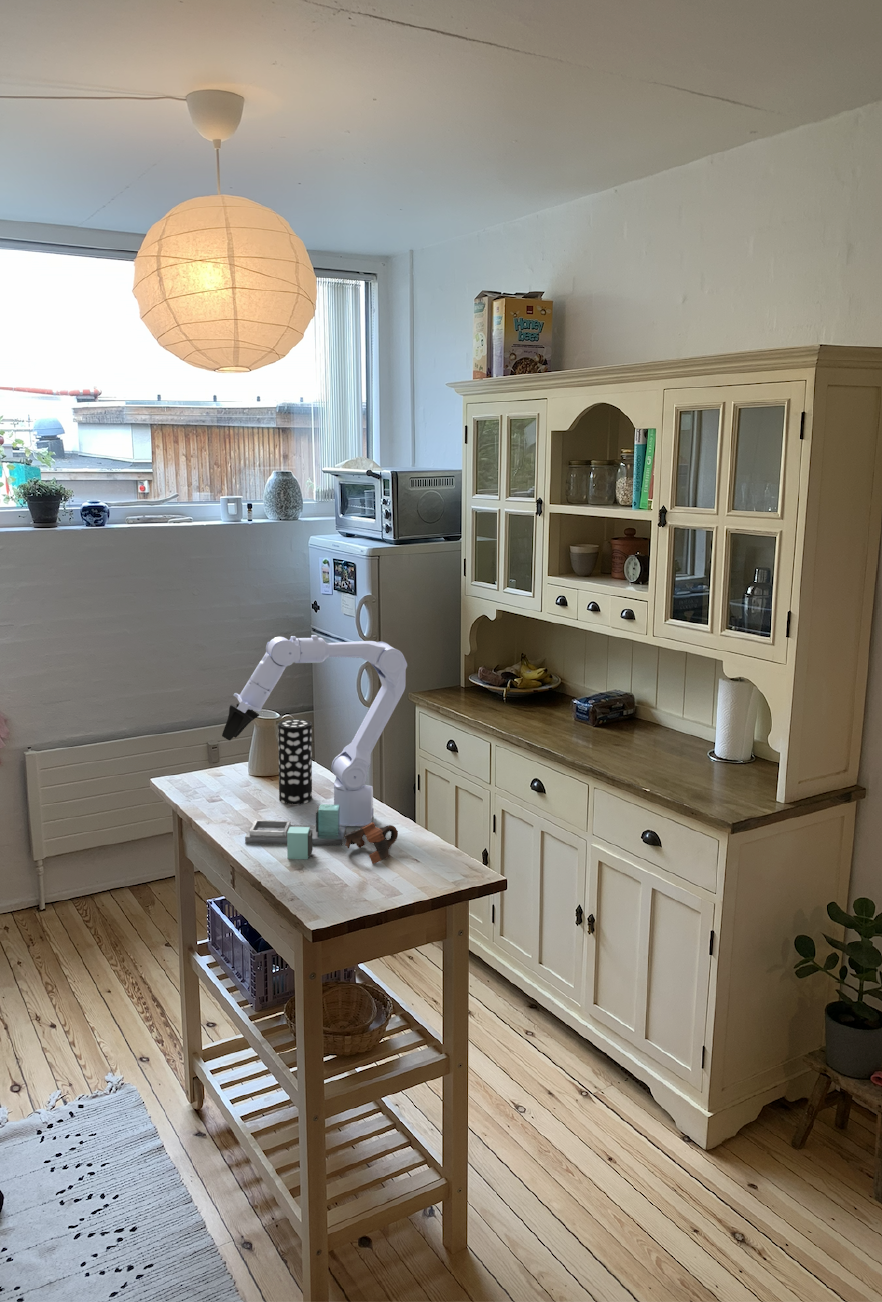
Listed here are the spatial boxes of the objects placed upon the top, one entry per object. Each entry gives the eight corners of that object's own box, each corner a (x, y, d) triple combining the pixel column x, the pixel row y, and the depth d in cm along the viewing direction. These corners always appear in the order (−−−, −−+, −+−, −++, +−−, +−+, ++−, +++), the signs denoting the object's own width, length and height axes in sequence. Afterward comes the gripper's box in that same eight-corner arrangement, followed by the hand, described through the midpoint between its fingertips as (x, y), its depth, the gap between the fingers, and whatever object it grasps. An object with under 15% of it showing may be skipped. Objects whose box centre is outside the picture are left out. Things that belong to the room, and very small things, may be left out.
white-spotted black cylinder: (293, 807, 242) (292, 730, 238) (272, 798, 248) (271, 723, 244) (318, 799, 248) (318, 723, 244) (298, 791, 254) (297, 717, 250)
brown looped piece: (363, 870, 208) (347, 835, 209) (350, 873, 216) (335, 838, 217) (410, 846, 213) (395, 812, 214) (396, 850, 222) (381, 816, 222)
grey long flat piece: (346, 831, 227) (346, 801, 226) (342, 845, 219) (342, 814, 218) (252, 829, 227) (251, 799, 226) (245, 843, 220) (244, 812, 218)
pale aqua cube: (287, 858, 212) (287, 833, 211) (290, 852, 215) (289, 826, 214) (310, 859, 212) (310, 833, 211) (312, 852, 215) (312, 827, 214)
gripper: (250, 675, 226) (219, 725, 226) (240, 676, 212) (207, 730, 212) (276, 691, 227) (245, 741, 226) (267, 693, 212) (235, 746, 212)
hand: (228, 736), depth 219 cm, fingers open, 7 cm apart
